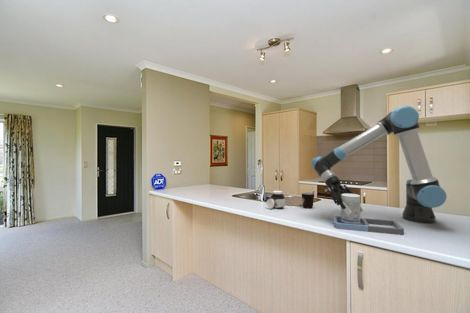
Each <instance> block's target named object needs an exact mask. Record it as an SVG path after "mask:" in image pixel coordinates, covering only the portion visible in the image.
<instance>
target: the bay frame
mask: <svg viewBox="0 0 470 313" xmlns="http://www.w3.org/2000/svg"><path fill="white" fill-rule="evenodd" d="M332 223H333V226H334V227H333V228H335V229H341V230H350V231H351V230H352V231H360V232H361V231H362V232H371V233H378V234H379V233H381V234H392V235H401V236H402V235H404V234H405V233H404V232H405V230H404V229H405V228H404V227H403V226H401V225H400V223H399V222H397V221H396V220H393V219H381V218H367V217H360V223H359V224H346V223H343V222H342V221H341V215H334V216H333V222H332ZM370 224H371V225H370ZM375 225H377V226H375ZM387 226H388V227H387ZM389 226H391V227H389Z"/></svg>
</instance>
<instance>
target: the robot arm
mask: <svg viewBox="0 0 470 313" xmlns="http://www.w3.org/2000/svg"><path fill="white" fill-rule="evenodd" d="M419 118H420V114H419V112H418V110H417V109H416V108H414V107H412V106H409V105H404V106H403V105H402V106H399V107H396V108H394V109H393V110H392V111H391V112H389V113H388V114H386V116H384V117H383V118H381V119H379V121H377V122H376V124H375V125H374V126H372V127H370V128H368V129H366V130H365V131H363V132H362V133H360V134H358V135H356V136H355V137H353V138H352V139H350V140H348V141H347V142H344V143H343V144H342V145H341V144H340V146H337V147H335V148H334V149H333V150H331V151H330V152H329V153H328V154H325V156H316V157H314V158H313V159H312V160H311V163H310V164H311V166H312V167H313V170H315V172H316V174H318V176H319V177H320V178H321V180H322V181H323V183H325V186H326V187H327V189H326V190H327V192H328V193H329V195H330V197H331V198H332V201H333V202H334V204H335V205H337V206H340V208H341V207H342V209H343V210H344V211H345V212H346V214H347V215H349V214H351V213H352V212H351V210H350V209H349V208H348V206H347V205H346V204H345V202H342V199H341V194H346V193H348V194H354V193H353V192H352V190H351V189H350V188H349V187H348V186H347V185H346V184H344V185H342V184H341V180H340V179H339V177H338V176H337V175H336V173H335V172H334V171H333V170H332V169H331V168H333V167H334V166H335V165H337V164H338V163H340V162H341V161H343V160H344V159H345V158H347V157H348V156H350V155H351V154H353V153H355V152H357V151H358V150H361V149H362V148H365V147H366V146H368V145H370V144H371V143H373V142H375V141H376V140H377V139H380V138H382V137H383V136H388V135H391V134H392V133H393V135H394V136H395V137H397V138H398V140H399V143H400V145H401V149H402V152H403V154H404V158H405V161H406V164H407V167H408V170H409V173H410V175H411V179H407V180H406V184H405V187H406V190H405V193H406V194H405V195H406V196H405V199H406V202H405V207H404V210H403V211H402V218H403V219H405V220H407V221H410V222H415V223H424V224H433V223H436V219H437V218H436V216H435V212H434V211H433V209H435V208H439V207H441V206H443V205H444V203H445V202H446V201H447V198H448V197H447V192H446V191H445V190H444V188H443V187H441V185H440V181H439V180H438V177H436V176H433V173H432V170H431V168H430V166H429V165H430V164H429V162H428V159H427V156H426V152H425V150H424V147H423V144H422V141H421V139H420V135H419V133H418V132H419V130H420V127H421V126H420V125H419ZM364 210H365V209H364V207H363V206H361V213H362V212H363V211H364Z"/></svg>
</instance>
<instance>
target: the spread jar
mask: <svg viewBox="0 0 470 313" xmlns="http://www.w3.org/2000/svg"><path fill="white" fill-rule="evenodd" d="M265 206H266V209H269V210H272V209H275V210H282V209H283V208H284V207H286V196H285V195H284V194H283V191H282V190H273V191H272V194H271V195H270V198H268V199H267V200H266V202H265Z"/></svg>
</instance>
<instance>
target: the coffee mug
mask: <svg viewBox="0 0 470 313" xmlns="http://www.w3.org/2000/svg"><path fill="white" fill-rule="evenodd" d="M301 199H302V207H303V209H307V210H308V209H313V207H314V199H315V193H314V192H301Z"/></svg>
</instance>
